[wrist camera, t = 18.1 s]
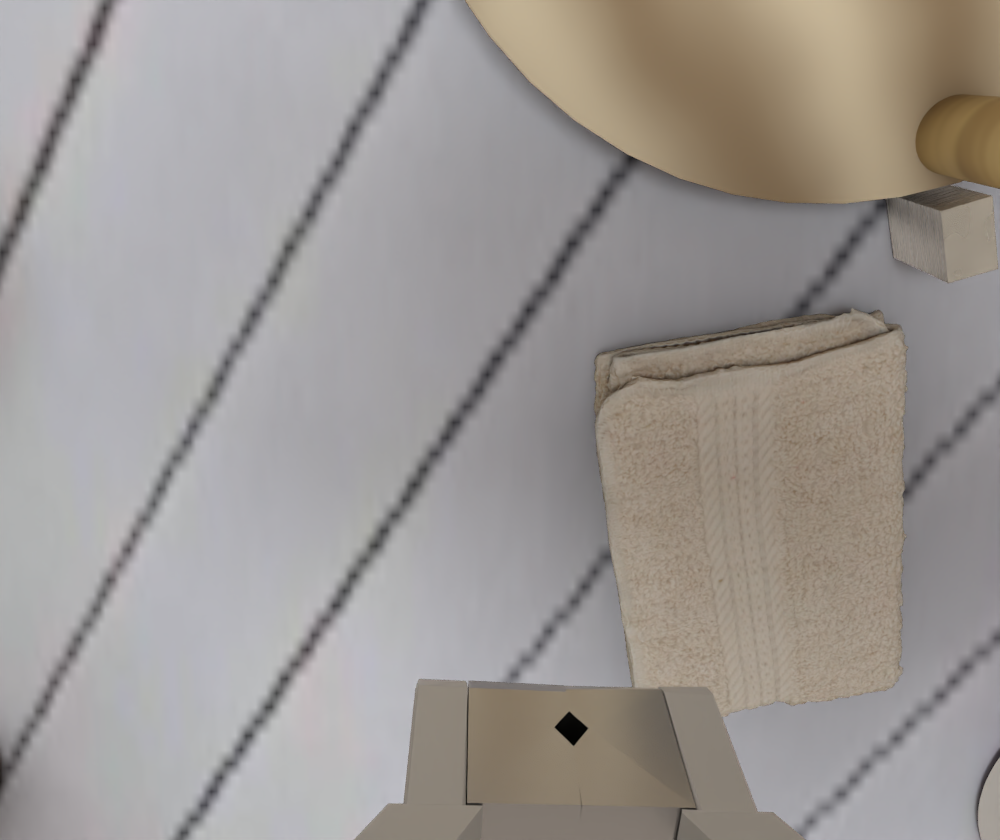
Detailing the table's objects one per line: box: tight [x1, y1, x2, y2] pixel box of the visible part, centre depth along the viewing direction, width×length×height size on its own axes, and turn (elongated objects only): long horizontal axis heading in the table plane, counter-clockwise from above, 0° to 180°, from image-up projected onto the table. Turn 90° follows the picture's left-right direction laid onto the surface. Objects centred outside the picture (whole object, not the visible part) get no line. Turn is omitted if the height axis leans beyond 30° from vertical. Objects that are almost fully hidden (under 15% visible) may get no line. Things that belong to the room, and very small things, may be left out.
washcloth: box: [594, 308, 908, 717], centre depth 35 cm, size 12×18×3 cm, turn 11°
